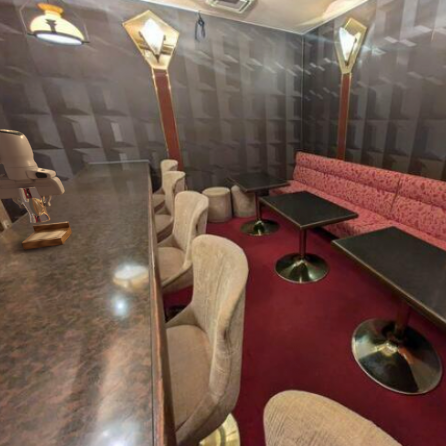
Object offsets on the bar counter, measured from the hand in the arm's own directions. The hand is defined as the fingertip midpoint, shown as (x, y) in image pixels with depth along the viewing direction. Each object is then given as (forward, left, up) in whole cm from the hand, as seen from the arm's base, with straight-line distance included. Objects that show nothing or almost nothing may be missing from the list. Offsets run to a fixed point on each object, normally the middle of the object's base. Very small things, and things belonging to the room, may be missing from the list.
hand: (36, 207), depth 102 cm
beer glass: (0, 0, -6) cm, 6 cm away
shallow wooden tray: (0, +1, -16) cm, 16 cm away
